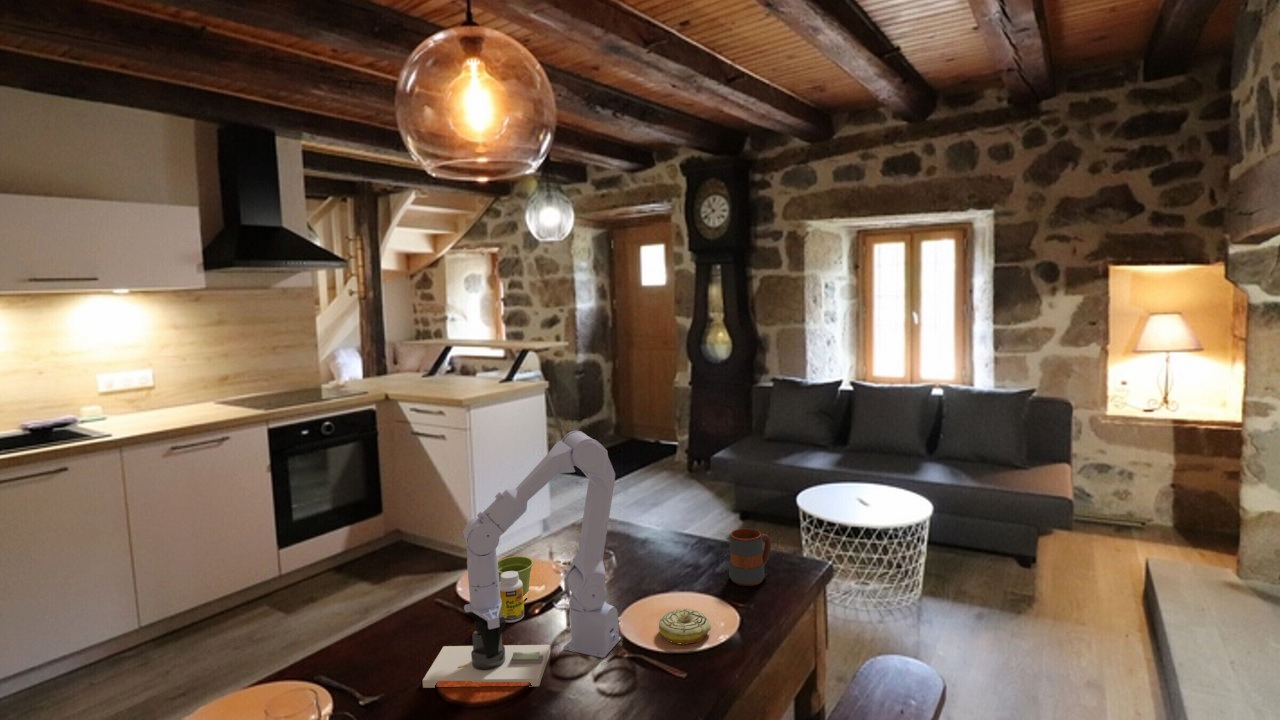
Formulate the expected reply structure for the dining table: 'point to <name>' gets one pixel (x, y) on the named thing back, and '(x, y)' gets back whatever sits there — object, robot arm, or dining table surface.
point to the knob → (481, 658)
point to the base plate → (517, 667)
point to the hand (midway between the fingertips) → (488, 647)
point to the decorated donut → (684, 626)
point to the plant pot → (517, 569)
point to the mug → (748, 556)
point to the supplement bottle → (511, 597)
